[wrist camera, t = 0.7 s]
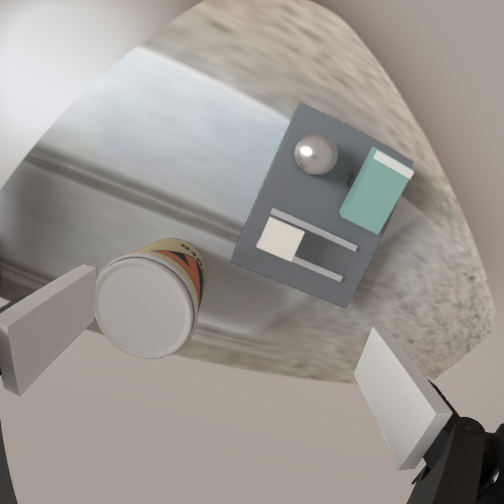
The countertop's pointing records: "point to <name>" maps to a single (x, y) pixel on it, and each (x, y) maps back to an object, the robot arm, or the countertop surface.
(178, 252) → the coffee cup
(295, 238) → the slider
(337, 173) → the console
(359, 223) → the block
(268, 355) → the countertop surface
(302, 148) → the plunger
